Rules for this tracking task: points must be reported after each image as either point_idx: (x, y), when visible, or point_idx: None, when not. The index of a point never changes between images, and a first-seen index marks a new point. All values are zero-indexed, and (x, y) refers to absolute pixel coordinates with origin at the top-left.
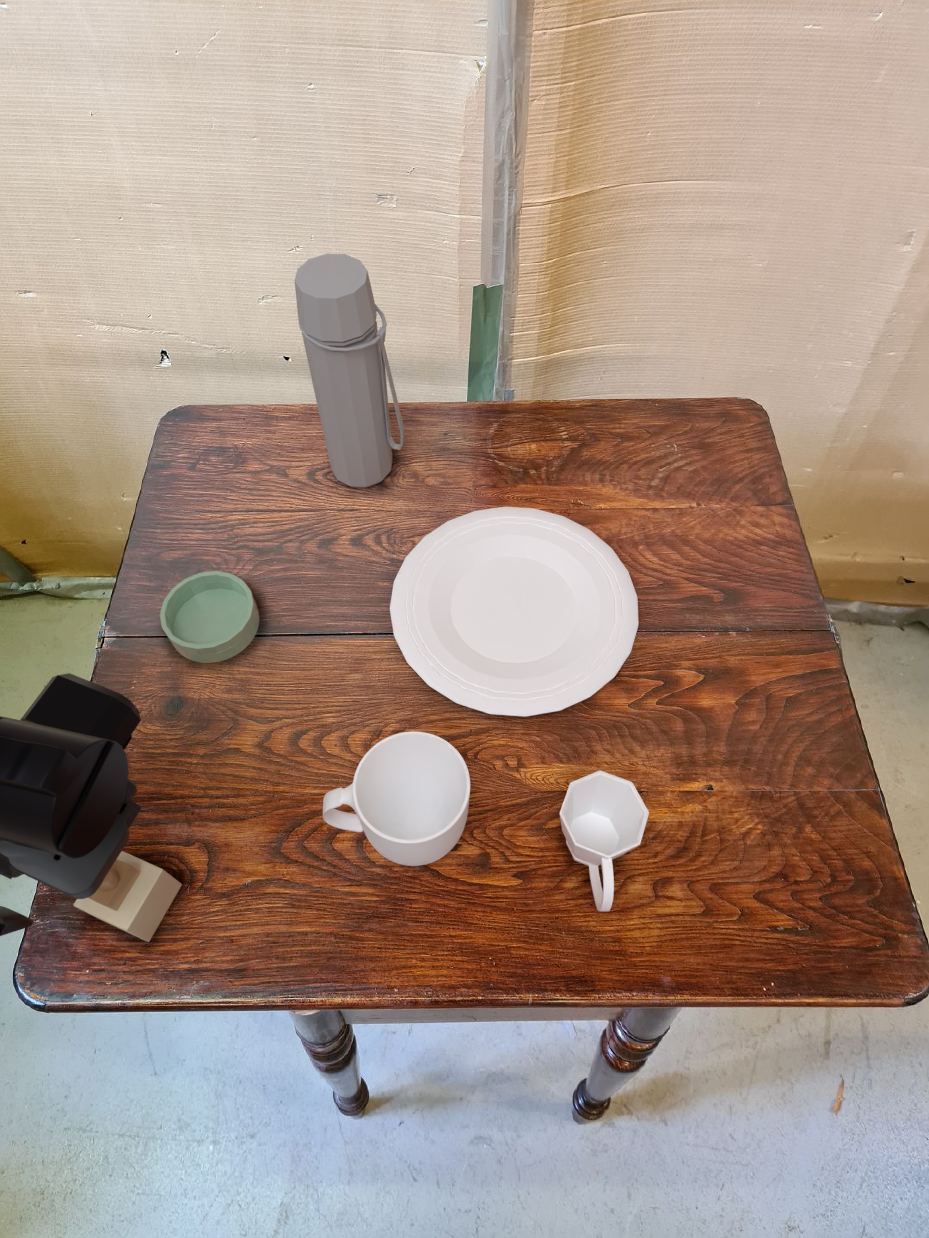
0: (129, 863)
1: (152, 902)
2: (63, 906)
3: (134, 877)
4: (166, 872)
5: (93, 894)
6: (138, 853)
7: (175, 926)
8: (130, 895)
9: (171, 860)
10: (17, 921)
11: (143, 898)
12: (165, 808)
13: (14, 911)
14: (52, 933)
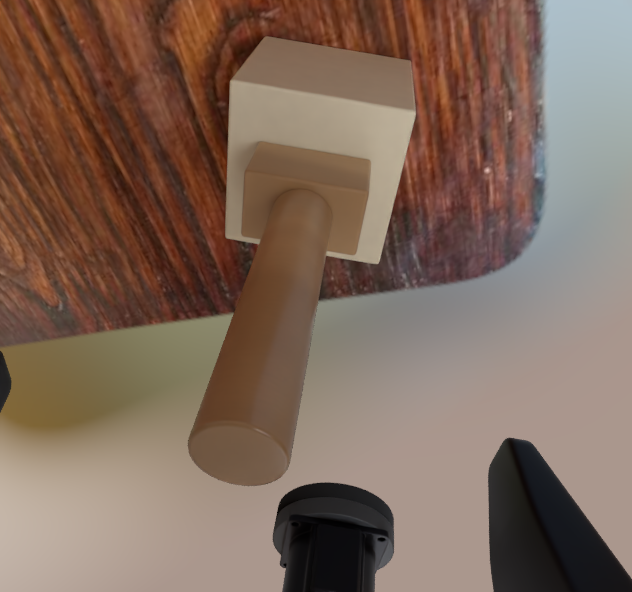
0: None
1: (325, 78)
2: None
3: (275, 150)
4: (238, 71)
5: (347, 238)
6: None
7: (363, 7)
8: (323, 141)
9: (223, 88)
10: (588, 588)
11: (321, 101)
12: (128, 151)
13: (503, 535)
14: (423, 261)
